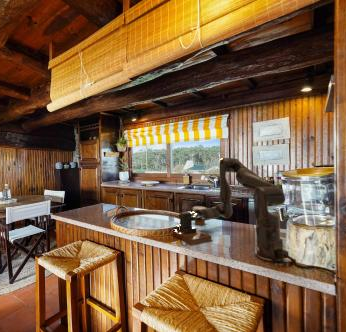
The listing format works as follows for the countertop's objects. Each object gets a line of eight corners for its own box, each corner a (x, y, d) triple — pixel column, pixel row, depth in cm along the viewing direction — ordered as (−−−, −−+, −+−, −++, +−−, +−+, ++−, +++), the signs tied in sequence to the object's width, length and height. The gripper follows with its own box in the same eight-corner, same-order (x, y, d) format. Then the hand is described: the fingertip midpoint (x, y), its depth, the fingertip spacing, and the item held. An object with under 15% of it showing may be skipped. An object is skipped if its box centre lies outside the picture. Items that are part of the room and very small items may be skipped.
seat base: (211, 240, 120) (211, 231, 120) (191, 245, 116) (191, 235, 115) (190, 231, 137) (190, 223, 137) (172, 235, 132) (172, 226, 132)
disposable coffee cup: (209, 225, 148) (208, 208, 147) (195, 226, 148) (194, 209, 147) (203, 221, 157) (203, 205, 157) (191, 222, 157) (190, 206, 157)
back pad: (192, 230, 130) (191, 213, 130) (183, 232, 128) (183, 214, 128) (188, 229, 133) (187, 211, 133) (180, 230, 131) (179, 213, 131)
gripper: (196, 206, 142) (176, 209, 136) (212, 210, 129) (190, 214, 123) (196, 217, 142) (176, 221, 136) (212, 223, 129) (191, 227, 123)
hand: (183, 217), depth 130 cm, fingers open, 8 cm apart
